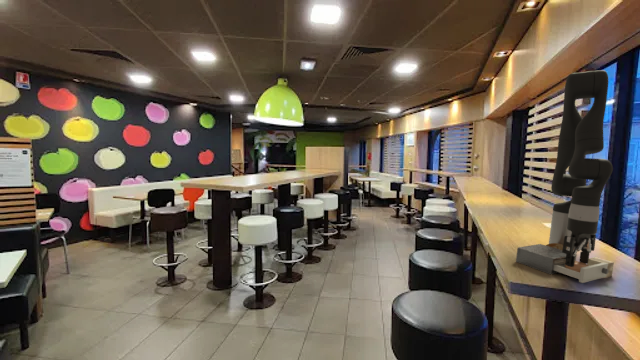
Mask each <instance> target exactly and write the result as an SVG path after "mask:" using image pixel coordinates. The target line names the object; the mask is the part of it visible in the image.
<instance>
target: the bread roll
mask: <svg viewBox="0 0 640 360" xmlns="http://www.w3.org/2000/svg"><path fill="white" fill-rule="evenodd" d="M545 245H546V246H549V247H552V248H556V249H559V250H562V249H563V245H562V244H559V243H551V244H549V243H548V244H545ZM566 249H567V248H566Z"/></svg>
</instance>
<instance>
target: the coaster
mask: <svg viewBox="0 0 640 360" xmlns="http://www.w3.org/2000/svg"><path fill="white" fill-rule="evenodd" d="M587 266H589V265H587V264H585V263H582V262H580V261H579V260H576V261H575V263H574V266H573V267H570V266H567V265H565V268H568V269H571V270H574V271H577V272H580V270H581V268H582V267H587Z"/></svg>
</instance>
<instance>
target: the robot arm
mask: <svg viewBox="0 0 640 360" xmlns="http://www.w3.org/2000/svg"><path fill="white" fill-rule="evenodd" d="M608 91H609V75H608V72H607V71H606V70H603V69H599V70H589V71H581V72H574V73H573V72H572V73H570V74H569V75H568V76H567V77H566V80H565V84H564V93H563V94H564V97H563V107H562V108H563V109H562V110H563V111H562V119H561V124H560V129H559V130H560V131H559V136H558V144H557V153H556V154H557V155H556V161H555V166H554V172H553V175H552V179H551V180H552V181H551V185H550V186H551V189H550V190H551V192H552V194H553V195H556V196H564V197H570V198H571V199H570V200H567V201H564V202H557V203H554V204H553V207H552V214H551V223H550V224H551V225H550V231H549V237H548V244H551V243H559V244H562V245H563V249H562V253H565V254H566V261H565V265H567V266H570V267H573V266H574V263H575V255H576V256H577V253H578V252H580V254H579V259H578V261H579V262H582V263H585V264H587V263H588V260H589V258H590V254H592V252H594V251H595V248H596V247H595V246H596V238H597V235H596V234H597V233H598V228H599V227H598V226H599V219H600V205H601V197H602V193H603V191H604V189H605V186H606V184H607V182H609V179H610V177H611V175H612V173H613V170H614V167H613V164H612V162H611V161H610V160H609V159H607V158H593V157H590V158H587V157H585V156H587V155H593V154H598V153H601V152H603V150H604V147H605V145H604V144H605V141H604V140H605V139H604V120H605V114H606V107H607V98H608ZM581 99H582V100H586V99H593V103H592V106H591V107H590V108H589V110H588V111H587V113H586V114H585V115H584V116H583V117H582V115H581V114H580V112H579V110H578V108H577V106H576V100H581ZM567 169H568V171H567ZM566 171H567V172H568V174H567V173H566ZM587 180H589V181H592V182H591V183H589V184H588V185H587ZM566 248H567V249H566Z"/></svg>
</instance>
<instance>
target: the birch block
mask: <svg viewBox="0 0 640 360" xmlns="http://www.w3.org/2000/svg"><path fill="white" fill-rule="evenodd" d="M600 263H608V267H607V269H608V270H609V272H608V274H606V277H603V278H602V279H607V278H610V277H613V271H614V263H615V261H610V260H608V259H603V258H600V257H596V256H595V257H589V260H588V263H587V265H589V266H591V265H595V264H600Z"/></svg>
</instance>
